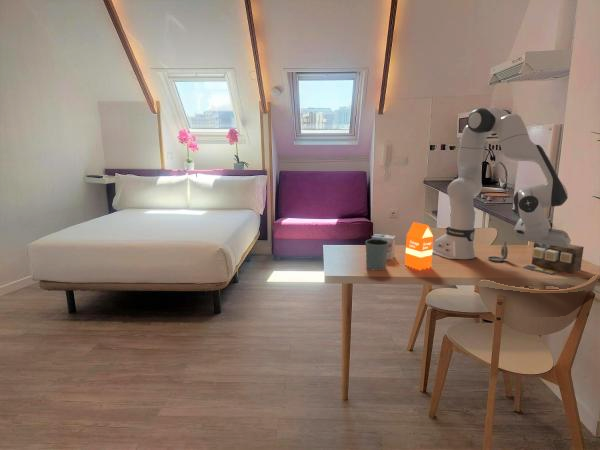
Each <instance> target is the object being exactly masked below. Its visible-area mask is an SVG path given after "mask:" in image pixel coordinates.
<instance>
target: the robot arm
mask: <svg viewBox="0 0 600 450" xmlns="http://www.w3.org/2000/svg"><path fill="white" fill-rule="evenodd" d="M466 124H467V125H465V126H464V128H463V130H462V133H461V137H460V141H459V145H458V152H457V157H456V165H457V173H458V174H457V175H458V176H457V178H456V179H455V178H454V179H453V180H452V181H451V182H450V183H449V184H448V185H447V189H446V193H447V197H448V198H449V205H450V219H449V220H450V221H449V226H448V227H445V228H444V231H446V232H445V233H444V234H442V235H441V236H439V237H438V238H436V239H435V240H434V241H433V248H432V249H433V250H432V255H433V254H434V255H436V256H439V257H442V258H445V259H448V260H472V259H475V258H476V254H475V248H474V240H475V235H476V234H475V231H476V229H475V221H476V211H475V208H474V199H475V198H476V197H478V195H480V193H481V192H482V189H483V184H482V180H483V179H482V177H483V175H482V165H483V157H484V151H485V146H486V140H487V138H488V137H489V136H492V137H494V136H497V138H498V141H499V147H500V148H501V149H500V150H501V152H502V154H503V156H505V158H507V159H509V160H512V161H518V162H531V163H532V162H533V163H535V164H537V165H538V166H539V168H540V169H541V171H542V173H543V175H544V177H545V178H546V182H544V183H541V184H538V185H534V186H529V187H525V188H521V189H518V190H517V191H516V193H515V194H514V195H513V199H512V200H513V205H514V208H515V210H516V213H517V214H518V215H519V217H520V218H519V219H518V221H517V222H516V223H515V226H514V228H513V231H514V235H515V238H516V239H517V240H519V241H525V242H531V243H534V242H536V243H537V244H539V245H540V246H541V248H547V249H549V247H550V245H553V246H559V247H565V248H566V247H568V246H569V244H571V241H572V240H571V238H570V236H569V234H568V233H567V232H566V231H564V230H563V229H562V230H561V229H556V228H552V226H551V224H550V220H549V218H548V216H547V213H546V210H545V209H547V208H551V207H552V208H553V207H560V206H563V204H565V203H566V201H567V200H568V199H569V197H568V196H569V193H568V191H567V188H566V186H565V185H564V184H563V183H562V181H561V179H560V178H559V176H558V174H557V172H556V170H555V168H554V166H553V164H552V162H551V161H550V158H549V157H548V155H547V153H546V152H545V150H544V148H543V147H542V146H541V145H540V144H535V143H534V142H533V141H532V139H531V138H530V135H529V133H528V130H527V127H526V124H525V122H524V120H523V119H522V117H521V116H520V115H519V114H516V113H512V112H511V111H509V110H507V109H505V108H504V109H500V108H495V107H492V108H490V107H489V108H487V107H486V108H484V107H481V108H475V109H474V110H472V111H471V112H470V113H469V114H468V117H467V121H466Z"/></svg>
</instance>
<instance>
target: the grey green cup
mask: <svg viewBox="0 0 600 450" xmlns="http://www.w3.org/2000/svg"><path fill="white" fill-rule="evenodd" d="M387 250H388V241H386V240H381V239H372V238H371V239H370V238H369V239H367V240H365V253H366V255H365V257H366V258H365V260H366V261H365V263H366V264H365V266H366V268H367V269H368V268H369V270H371V269H374V270H373V271H380V270H379V269H383V270H385V269H386V265H387V259H386V258H387ZM384 268H385V269H384Z"/></svg>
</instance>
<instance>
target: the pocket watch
mask: <svg viewBox="0 0 600 450" xmlns="http://www.w3.org/2000/svg"><path fill="white" fill-rule="evenodd" d="M507 243H508V241H507V240H505V241H504V243H503V244H504V245H502V246H501V252H500V254H501V257H500V256H495V255H494V256H488V257H487V260H489V261H491V262H496V263H497V262H498V263H500V262H504V260H506V259H507V258H508V247H507V246H508V245H506V244H507Z"/></svg>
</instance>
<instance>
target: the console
mask: <svg viewBox="0 0 600 450" xmlns="http://www.w3.org/2000/svg"><path fill="white" fill-rule="evenodd" d="M538 246H540V245H539V244H537V243H536V242H533V248H535V247H538ZM540 247H541V246H540ZM549 249H556V250H560V256H561V252H563V251H566V252H571V253H574V255H573V262H571V263H567V262H562V261H560V257H559V260H556V261H550V260H545V258H542V259H540V258H536V257H531V258H532V259H531V265H533V266H535V265H536V266H538V267H539V266H540V267H542V268H547V269H548V268H549V269H551V270H559V271H562V272H567V273H571V274H575V273H576V272H578V271H580V270H581V269H582V268H581V267H582V262H583V254H584V249H585V248H584V246H581V245H576V244H571V243H570V244H569V246H568V247H566V248H565V247H559V246H553V245H550V247H549ZM549 249H547V250H549Z"/></svg>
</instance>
